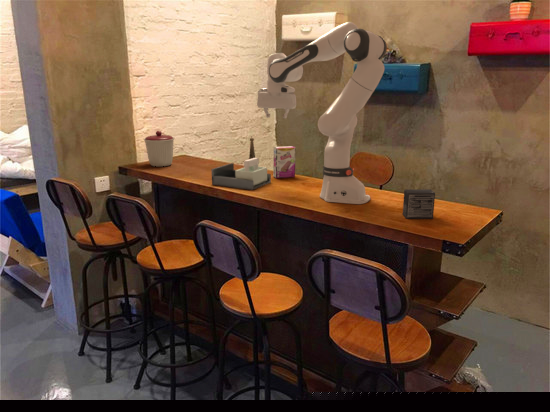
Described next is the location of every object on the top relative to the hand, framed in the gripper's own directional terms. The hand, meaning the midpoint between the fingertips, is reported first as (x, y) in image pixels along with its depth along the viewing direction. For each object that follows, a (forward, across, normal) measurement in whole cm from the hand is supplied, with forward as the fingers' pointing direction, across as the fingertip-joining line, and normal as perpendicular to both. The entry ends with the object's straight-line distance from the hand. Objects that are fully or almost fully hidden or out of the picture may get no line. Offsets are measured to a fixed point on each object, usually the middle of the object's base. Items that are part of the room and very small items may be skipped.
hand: (276, 117), depth 221 cm
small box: (+33, +75, -22) cm, 85 cm away
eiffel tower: (+34, -20, +9) cm, 40 cm away
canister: (+34, -86, +9) cm, 93 cm away
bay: (+33, -16, -8) cm, 38 cm away
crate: (+32, -10, -8) cm, 34 cm away
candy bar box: (+33, -4, +16) cm, 37 cm away
